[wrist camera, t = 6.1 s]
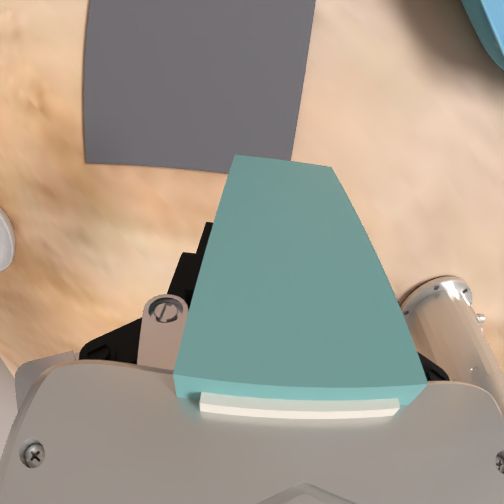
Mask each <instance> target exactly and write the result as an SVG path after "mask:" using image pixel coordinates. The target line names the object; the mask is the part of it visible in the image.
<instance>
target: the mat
mask: <svg viewBox="0 0 504 504" xmlns="http://www.w3.org/2000/svg"><path fill="white" fill-rule="evenodd" d="M315 1H316V0H90V7H89V16H88V25H87V35H86V48H85V66H84V133H85V152H86V163H105V164H125V165H142V166H156V167H169V168H180V169H191V170H201V171H211V172H220V173H229V171H230V168H231V165H232V162H233V159H234V156H235V155H244V156H253V157H262V158H270V159H278V160H286V161H291V155H292V150H293V144H294V138H295V132H296V126H297V120H298V113H299V107H300V101H301V95H302V88H303V82H304V76H305V69H306V63H307V56H308V49H309V43H310V36H311V29H312V22H313V15H314V8H315Z"/></svg>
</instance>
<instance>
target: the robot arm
mask: <svg viewBox="0 0 504 504" xmlns="http://www.w3.org/2000/svg"><path fill="white" fill-rule="evenodd" d="M212 226H213V223H211V222H206V225H205V227H204V230H203V233H202V236H201V240H200V243H199V246H198V249H197V252H196V254H195V253H186V252H183V253H182V255H181V257H180V260H179V262H178V265H177V268H176V270H175V273H174V276H173V278H172V281H171V284H170V287H169V289H168V292H167V294H164V295H158V296H155V297H153V298H152V299H150V300H149V301H148V302H147V303H146V304H145V307H144V310H143V317H142V318H140V319H137V320H135V321H133V322H131V323H129V324H127V325H124V326H122V327H120V328H118V329H116V330H114V331H111V332H109V333H107V334H105V335H103V336H100V337H98V338H96V339H94V340H92V341H90V342H88V343H87V344H85V346H84V347H83V348H82V349H81V351H80V352H79V353H75V354H74V352H73V351H69V352H65V353H62V354H58V355H54V356H50V357H46V358H42V359H38V360H34V361H29V362H27V363H24V364H22V365H21V366H20V367H19V368H18V370H17V372H16V374H15V386H16V398H17V407H18V413H17V416H16V418H15V420H14V423H13V425H12V427H11V430H10V433H9V436H8V438H7V442H6V444H5V448H4V450H3V454H2V457H1V460H0V504H504V375H503V373H502V370H501V368H500V366H499V364H498V362H497V360H496V358H495V355H494V353H493V351H492V349H491V347H490V345H489V343H488V341H487V339H486V337H485V335H484V334H483V327H482V325H481V324H478V323H483V322H484V320H485V316H484V314H475V312H474V310H473V309H472V307H471V305H472V292H471V290H470V288H469V286H468V285H467V283H466V282H465V281H464V280H462V279H460V278H458V277H452V276H447V277H440V278H436V279H434V280H431V281H429V282H427V283H425V284H423V285H421V286H420V287H419V288H417V289H416V290H415V291H413V292H412V293H411V294H410V295H409V296H408V297H407V298H406V300H405V301H404V302H403V303H402V305H401V307H400V309H401V311H402V314H403V316H404V319H405V321H406V324H407V326H408V329H409V331H410V334H411V337H412V339H413V342H414V345H415V347H416V350H417V353H418V356H419V359H420V361H421V364H422V367H423V370H424V373H425V376H426V379H427V382H428V384H427V386H426V387H425V388H424V389H423V390H422V391H421V392H420V393H419V395H418V396H417V397H416V398H415V399H414V400H413V401H412V402H411V403H410V404H409V405H400V409H399V410H398V411H397V412H396V413H395V414H394V415H393V416H383V417H369V418H348V419H289V418H266V417H251V416H239V415H228V414H219V413H211V412H203V411H200V400H195V399H188V398H181V397H177V395H176V389H175V384H174V378H173V371H174V367H175V363H176V359H177V355H178V351H179V347H180V343H181V339H182V335H183V331H184V327H185V323H186V320H187V316H188V312H189V308H190V305H191V301H192V297H193V293H194V290H195V286H196V282H197V279H198V275H199V272H200V268H201V264H202V261H203V257H204V254H205V250H206V247H207V244H208V240H209V237H210V233H211V230H212Z"/></svg>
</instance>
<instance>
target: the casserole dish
mask: <svg viewBox="0 0 504 504" xmlns="http://www.w3.org/2000/svg"><path fill="white" fill-rule="evenodd" d="M461 2H462V4H463V6H464V9H465V11H466V13H467V15H468V17H469V19H470V21H471V24H472V26H473V28H474V30H475V32H476V34H477V36H478V38H479V40H480V42H481V43H482V45H483V47H484V49H485V50H486V52H487V53H488V55H489V56H490V57H491V58H492V60H493V61H494V62H495V63H496V64H497V65H498V66H499V67H500V68H501V69H502V70H503V71H504V0H461Z"/></svg>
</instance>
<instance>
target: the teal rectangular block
mask: <svg viewBox="0 0 504 504" xmlns="http://www.w3.org/2000/svg"><path fill="white" fill-rule="evenodd" d="M173 378H174V384H175V389H176V395H177V397H181V398H188V399H195V400H200V411H203V412H211V413H219V414H228V415H239V416H251V417H266V418H289V419H348V418H369V417H383V416H393V415H394V414H395V413H396V412H397V411H398V410H399V409H400V405H409V404H410V403H411V402H412V401H413V400H414V399H415V398H416V397H417V396H418V395H419V393H420V392H421V391H422V390H423V389H424V388H425V387H426V386H427V384H428V382H427V379H426V376H425V373H424V370H423V367H422V364H421V361H420V359H419V356H418V353H417V350H416V347H415V345H414V342H413V339H412V337H411V334H410V331H409V329H408V326H407V324H406V321H405V319H404V316H403V314H402V311H401V309H400V306H399V304H398V301H397V299H396V297H395V294H394V292H393V290H392V287H391V285H390V283H389V280H388V278H387V276H386V274H385V271H384V269H383V267H382V265H381V263H380V260H379V258H378V256H377V254H376V252H375V250H374V248H373V246H372V244H371V241H370V239H369V237H368V235H367V233H366V231H365V229H364V227H363V225H362V223H361V221H360V219H359V217H358V215H357V213H356V211H355V210H354V208H353V206H352V204H351V202H350V200H349V198H348V196H347V194H346V193H345V191H344V189H343V187H342V185H341V183H340V182H339V180H338V178H337V176H336V174H335V173H334V171H333V169H332V167H327V166H321V165H314V164H307V163H301V162H294V161H286V160H278V159H270V158H262V157H253V156H244V155H235V156H234V159H233V162H232V165H231V168H230V171H229V174H228V178H227V181H226V184H225V187H224V190H223V194H222V197H221V200H220V203H219V207H218V210H217V213H216V216H215V220H214V223H213V226H212V230H211V233H210V237H209V240H208V244H207V247H206V250H205V254H204V257H203V261H202V264H201V268H200V272H199V275H198V279H197V282H196V286H195V290H194V293H193V297H192V301H191V305H190V308H189V312H188V316H187V320H186V323H185V327H184V331H183V335H182V339H181V343H180V347H179V351H178V355H177V359H176V363H175V367H174V371H173Z"/></svg>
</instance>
